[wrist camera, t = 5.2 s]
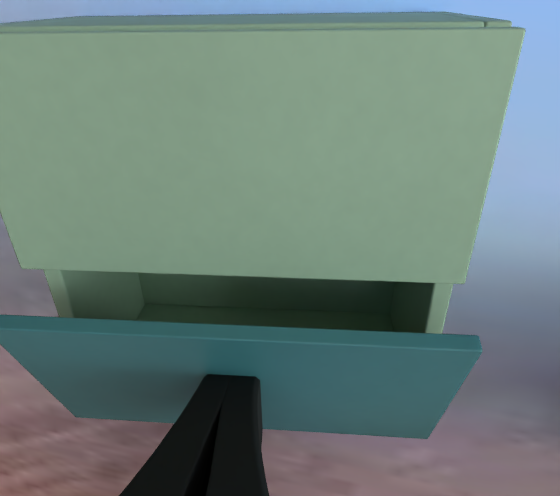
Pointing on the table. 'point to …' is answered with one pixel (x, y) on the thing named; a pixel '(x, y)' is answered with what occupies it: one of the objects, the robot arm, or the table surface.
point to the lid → (246, 371)
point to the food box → (252, 163)
